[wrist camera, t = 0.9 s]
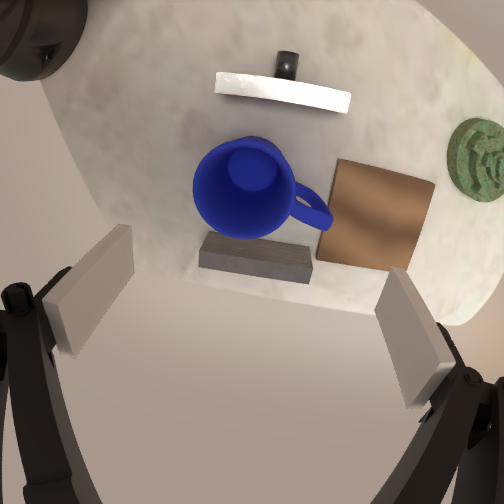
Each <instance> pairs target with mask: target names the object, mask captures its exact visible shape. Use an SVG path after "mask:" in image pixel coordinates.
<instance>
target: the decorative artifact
mask: <svg viewBox="0 0 504 504" xmlns="http://www.w3.org/2000/svg"><path fill="white" fill-rule="evenodd" d="M447 165H448V170H449V174H450V176H451V179H452V181H453V182H454V184H455V185H456V187H457V188H458V189H459V190H460V191H462V192H463V193H465V194H466V195H468V196H469V197H471V198H473V199H474V200H476V201H479V202H491V201H494V200H496V199H497V198H499V197H500V196H501V195H503V194H504V128H503V127H502V126H500V125H499V124H497V123H495V122H493V121H488V120H484V119H479V118H473V119H469V120H466V121H464V122H463V123H461V124H460V125H459V126H458V127H457V128H456V130H455V131H454V133H453V134H452V136H451V139H450V141H449V145H448V150H447Z"/></svg>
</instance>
